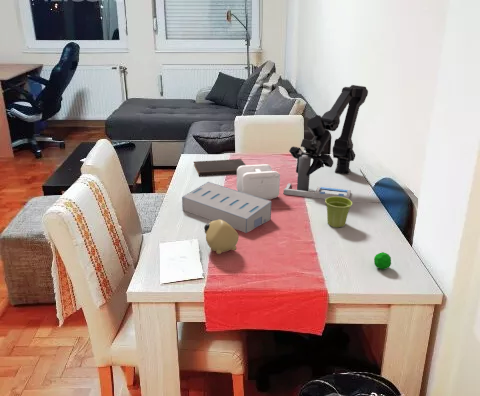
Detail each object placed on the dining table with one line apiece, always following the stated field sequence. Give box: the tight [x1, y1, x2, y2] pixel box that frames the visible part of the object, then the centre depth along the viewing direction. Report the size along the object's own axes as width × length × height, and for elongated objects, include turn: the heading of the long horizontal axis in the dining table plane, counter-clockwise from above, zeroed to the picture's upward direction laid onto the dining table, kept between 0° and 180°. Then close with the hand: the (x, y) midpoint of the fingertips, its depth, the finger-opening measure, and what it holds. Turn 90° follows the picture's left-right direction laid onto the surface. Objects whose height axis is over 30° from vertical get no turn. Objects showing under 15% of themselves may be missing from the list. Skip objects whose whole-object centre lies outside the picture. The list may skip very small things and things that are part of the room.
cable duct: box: [283, 182, 351, 200], centre depth 204 cm, size 12×26×2 cm, turn 74°
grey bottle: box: [296, 155, 312, 191], centre depth 204 cm, size 5×5×15 cm
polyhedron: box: [373, 251, 392, 270], centre depth 148 cm, size 5×5×5 cm
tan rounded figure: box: [204, 219, 239, 255], centre depth 155 cm, size 10×12×11 cm
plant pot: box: [324, 197, 353, 228], centre depth 175 cm, size 9×9×9 cm
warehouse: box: [181, 181, 272, 234], centre depth 181 cm, size 30×14×8 cm, turn 52°
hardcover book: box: [193, 158, 246, 177], centre depth 230 cm, size 16×23×2 cm
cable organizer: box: [236, 163, 281, 200], centre depth 198 cm, size 15×11×12 cm
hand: (301, 173), depth 203 cm, fingers closed on grey bottle, 5 cm apart
